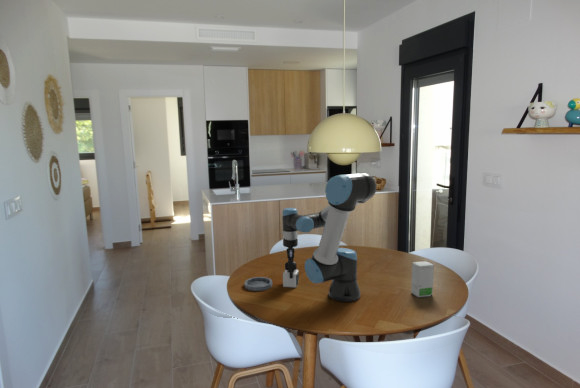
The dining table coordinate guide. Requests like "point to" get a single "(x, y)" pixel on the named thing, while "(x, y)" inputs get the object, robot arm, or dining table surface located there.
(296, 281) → the medicine bottle
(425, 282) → the skincare box
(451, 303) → the dining table surface
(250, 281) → the dish
